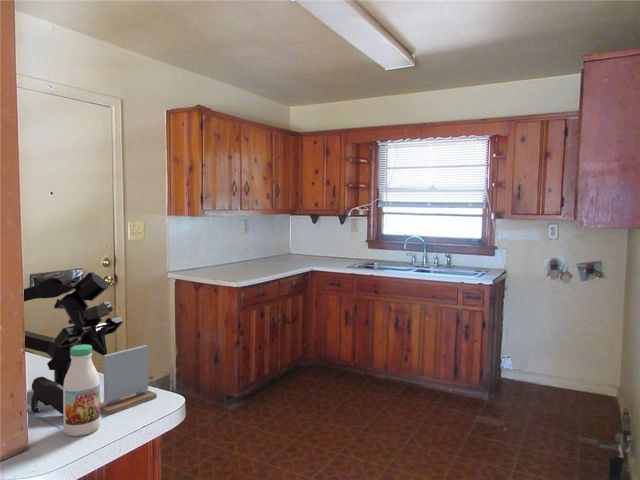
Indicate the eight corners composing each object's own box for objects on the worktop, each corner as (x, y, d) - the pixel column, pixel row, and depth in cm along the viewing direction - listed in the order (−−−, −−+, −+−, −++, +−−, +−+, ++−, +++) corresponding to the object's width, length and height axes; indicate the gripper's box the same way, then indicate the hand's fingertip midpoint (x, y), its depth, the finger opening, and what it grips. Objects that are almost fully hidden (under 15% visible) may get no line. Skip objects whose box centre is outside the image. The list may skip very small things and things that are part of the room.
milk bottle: (56, 433, 105) (54, 349, 103) (83, 419, 112) (82, 340, 111) (81, 440, 102) (79, 353, 101) (107, 425, 109) (106, 344, 108)
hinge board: (96, 409, 118) (95, 404, 118) (144, 392, 129) (144, 388, 129) (108, 415, 114) (108, 410, 114) (156, 397, 126) (156, 393, 126)
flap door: (104, 404, 117) (103, 355, 117) (145, 390, 127) (145, 345, 126) (107, 406, 116) (106, 356, 116) (149, 391, 126) (148, 346, 125)
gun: (69, 441, 112) (84, 408, 111) (19, 406, 115) (34, 373, 113) (77, 435, 115) (92, 403, 114) (28, 401, 118) (43, 369, 116)
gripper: (61, 299, 120) (90, 345, 116) (119, 289, 137) (145, 329, 133) (42, 324, 124) (69, 370, 120) (100, 311, 141) (126, 352, 137)
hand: (105, 354), depth 127 cm, fingers closed
